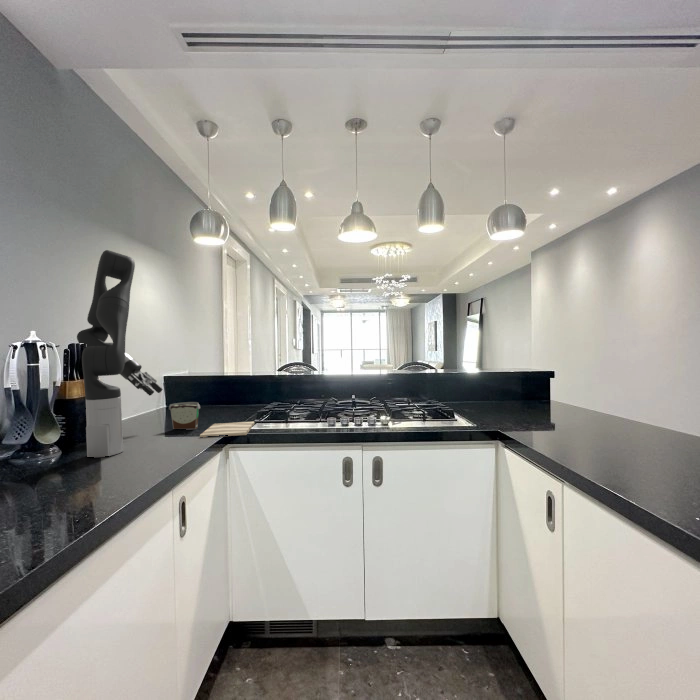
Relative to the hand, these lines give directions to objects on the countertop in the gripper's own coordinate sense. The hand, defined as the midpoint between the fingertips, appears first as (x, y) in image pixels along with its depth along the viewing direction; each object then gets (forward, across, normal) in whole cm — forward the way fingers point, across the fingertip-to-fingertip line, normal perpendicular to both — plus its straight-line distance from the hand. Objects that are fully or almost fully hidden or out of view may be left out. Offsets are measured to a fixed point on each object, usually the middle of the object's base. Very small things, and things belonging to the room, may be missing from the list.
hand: (156, 392), depth 156 cm
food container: (+19, 0, +2) cm, 19 cm away
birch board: (+31, -10, -10) cm, 35 cm away
